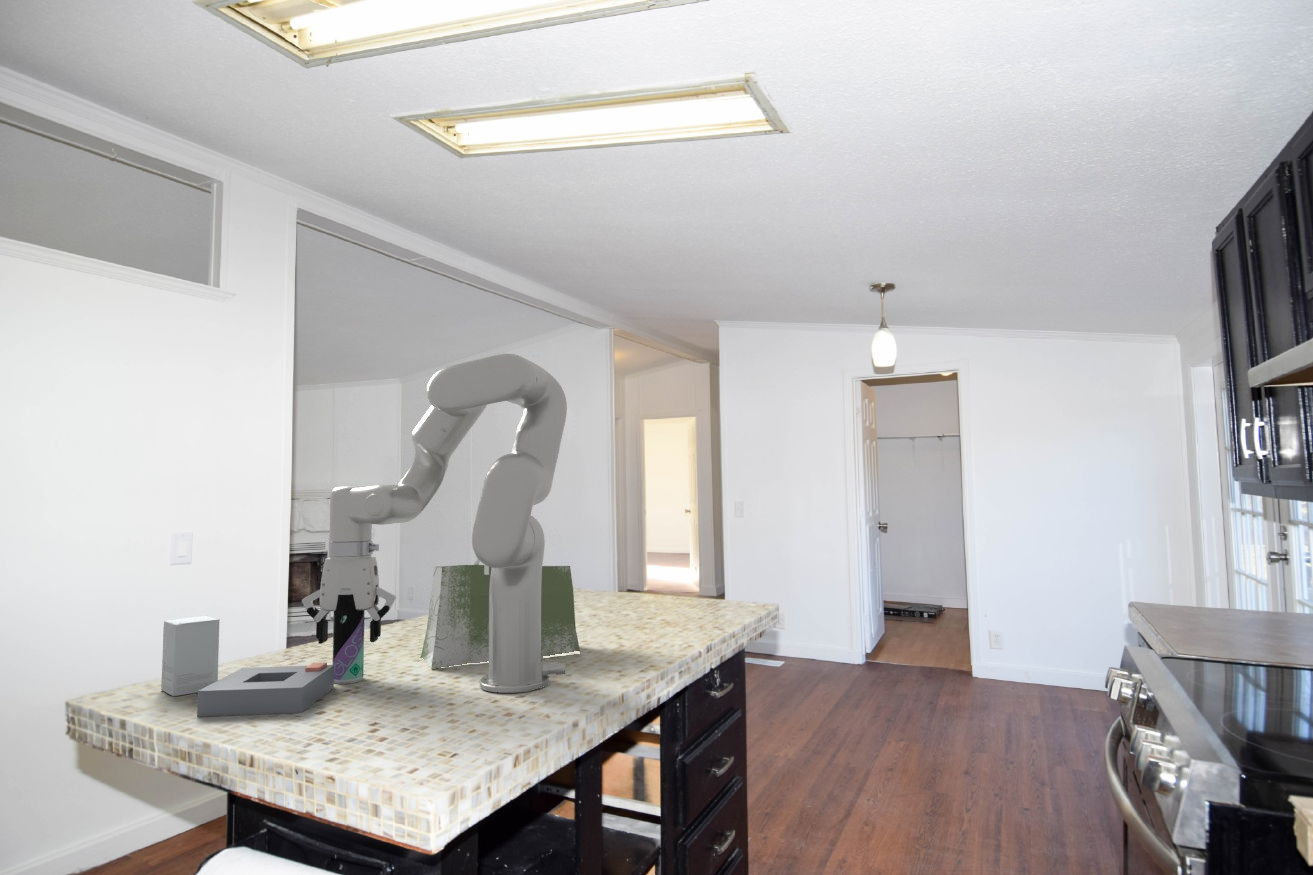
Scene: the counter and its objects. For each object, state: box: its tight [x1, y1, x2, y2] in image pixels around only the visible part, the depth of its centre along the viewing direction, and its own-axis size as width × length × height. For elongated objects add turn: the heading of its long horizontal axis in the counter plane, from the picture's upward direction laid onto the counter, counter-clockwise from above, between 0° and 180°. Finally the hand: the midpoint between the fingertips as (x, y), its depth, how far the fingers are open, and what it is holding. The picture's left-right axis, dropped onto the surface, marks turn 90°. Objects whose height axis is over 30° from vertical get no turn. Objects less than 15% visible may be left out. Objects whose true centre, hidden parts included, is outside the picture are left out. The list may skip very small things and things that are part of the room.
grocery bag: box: [420, 557, 581, 670], centre depth 163 cm, size 32×14×23 cm, turn 115°
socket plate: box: [196, 661, 335, 717], centre depth 129 cm, size 16×16×5 cm
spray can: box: [332, 588, 366, 685], centre depth 143 cm, size 6×6×20 cm
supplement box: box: [160, 615, 221, 697], centre depth 137 cm, size 7×7×13 cm
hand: (348, 641), depth 143 cm, fingers open, 9 cm apart
